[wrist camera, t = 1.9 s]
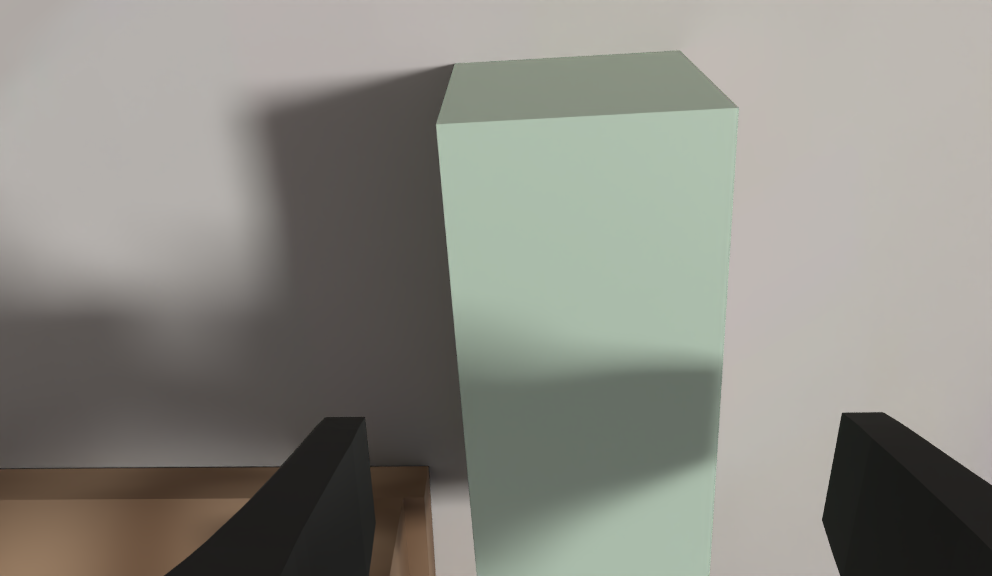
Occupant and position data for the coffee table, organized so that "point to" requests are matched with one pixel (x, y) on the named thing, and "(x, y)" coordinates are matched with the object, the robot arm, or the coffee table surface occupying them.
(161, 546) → the shelf frame
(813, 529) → the coffee table surface
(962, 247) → the coffee table surface
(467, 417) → the pale green rectangular block
